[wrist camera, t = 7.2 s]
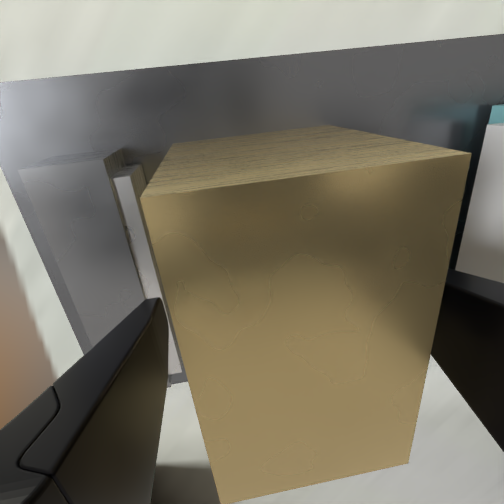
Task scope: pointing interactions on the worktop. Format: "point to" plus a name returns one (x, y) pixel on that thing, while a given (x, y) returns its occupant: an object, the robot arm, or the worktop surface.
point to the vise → (203, 128)
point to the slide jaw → (486, 208)
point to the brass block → (304, 295)
